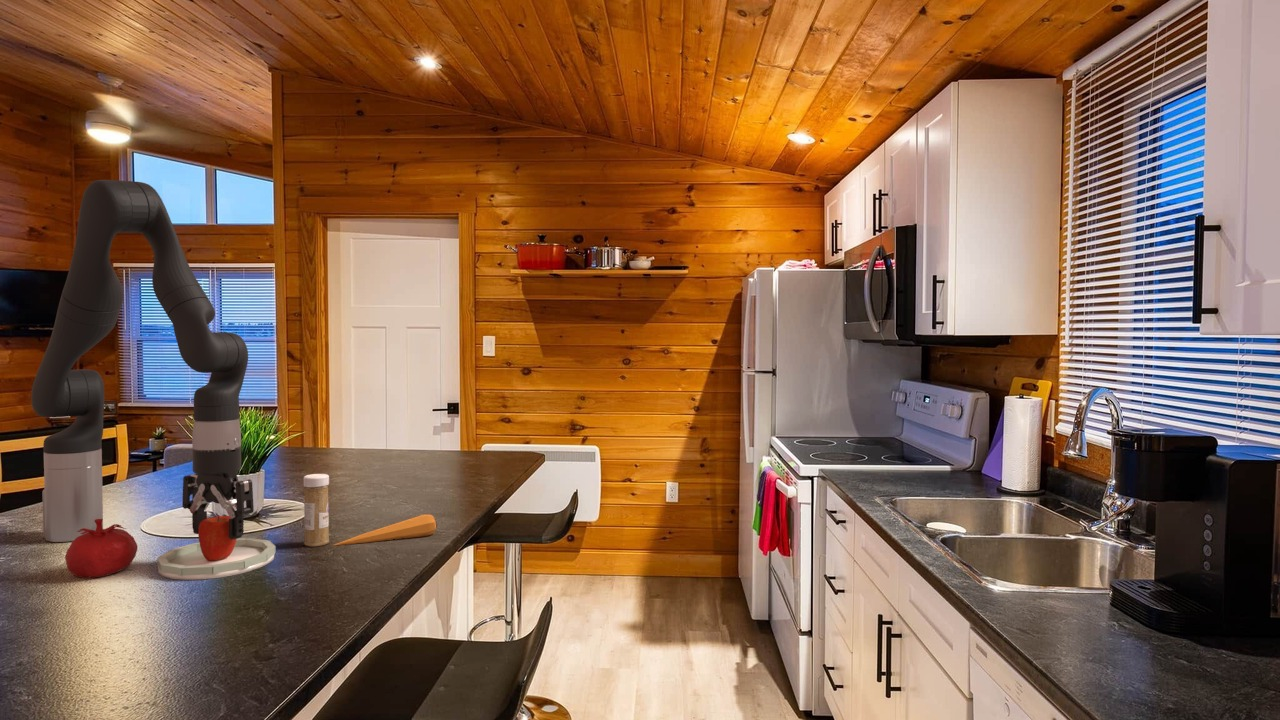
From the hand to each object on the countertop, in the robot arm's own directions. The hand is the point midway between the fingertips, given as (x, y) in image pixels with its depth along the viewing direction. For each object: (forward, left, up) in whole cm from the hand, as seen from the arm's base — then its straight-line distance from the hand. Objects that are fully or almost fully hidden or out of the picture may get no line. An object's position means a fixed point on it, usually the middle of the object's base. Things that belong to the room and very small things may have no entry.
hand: (217, 535), depth 134 cm
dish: (0, 0, -5) cm, 5 cm away
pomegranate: (-14, -11, -5) cm, 18 cm away
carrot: (+17, +24, -5) cm, 30 cm away
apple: (0, 0, -4) cm, 4 cm away
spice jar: (+7, +16, -5) cm, 18 cm away
